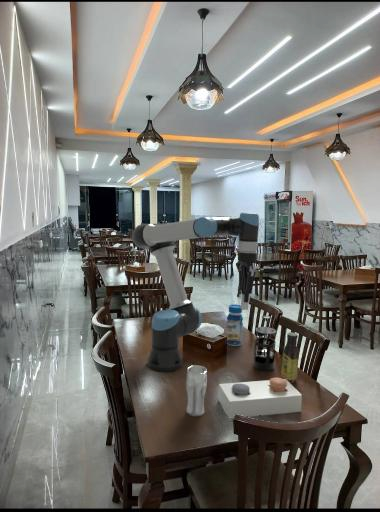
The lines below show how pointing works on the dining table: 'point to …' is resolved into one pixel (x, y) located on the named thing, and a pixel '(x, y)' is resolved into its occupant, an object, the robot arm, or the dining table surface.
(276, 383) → the terracotta plug
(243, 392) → the grey plug
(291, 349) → the sauce bottle
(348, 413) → the dining table surface
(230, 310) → the beverage bottle
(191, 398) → the beer glass
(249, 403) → the block
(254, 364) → the french press
